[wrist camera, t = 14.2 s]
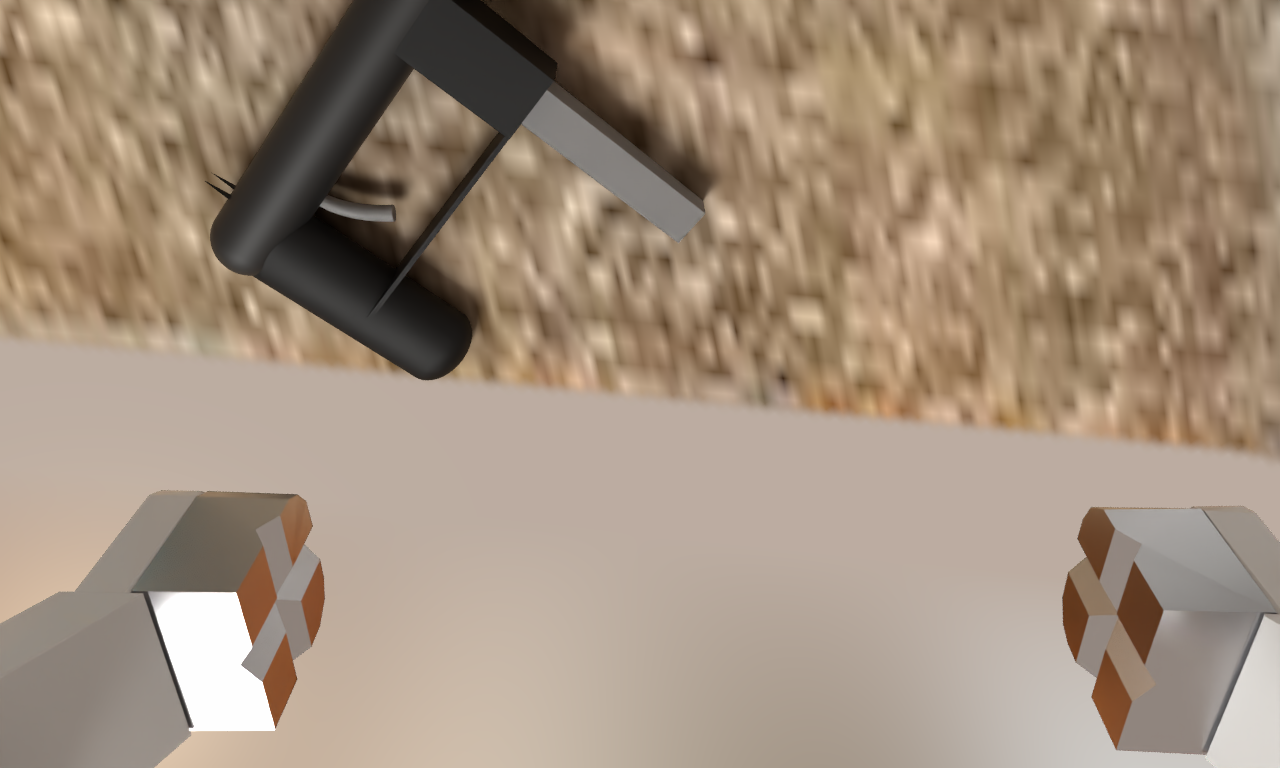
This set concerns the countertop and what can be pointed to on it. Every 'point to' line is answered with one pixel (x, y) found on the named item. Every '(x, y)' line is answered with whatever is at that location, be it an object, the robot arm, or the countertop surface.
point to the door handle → (349, 274)
